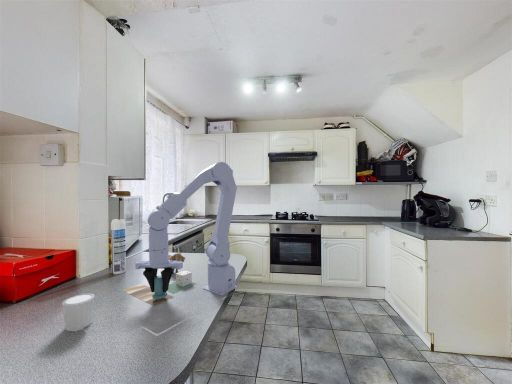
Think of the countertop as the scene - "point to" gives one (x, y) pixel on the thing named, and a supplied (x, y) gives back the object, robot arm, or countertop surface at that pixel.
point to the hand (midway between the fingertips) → (159, 291)
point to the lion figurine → (177, 259)
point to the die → (183, 278)
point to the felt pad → (178, 287)
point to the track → (145, 294)
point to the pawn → (158, 288)
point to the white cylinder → (78, 311)
